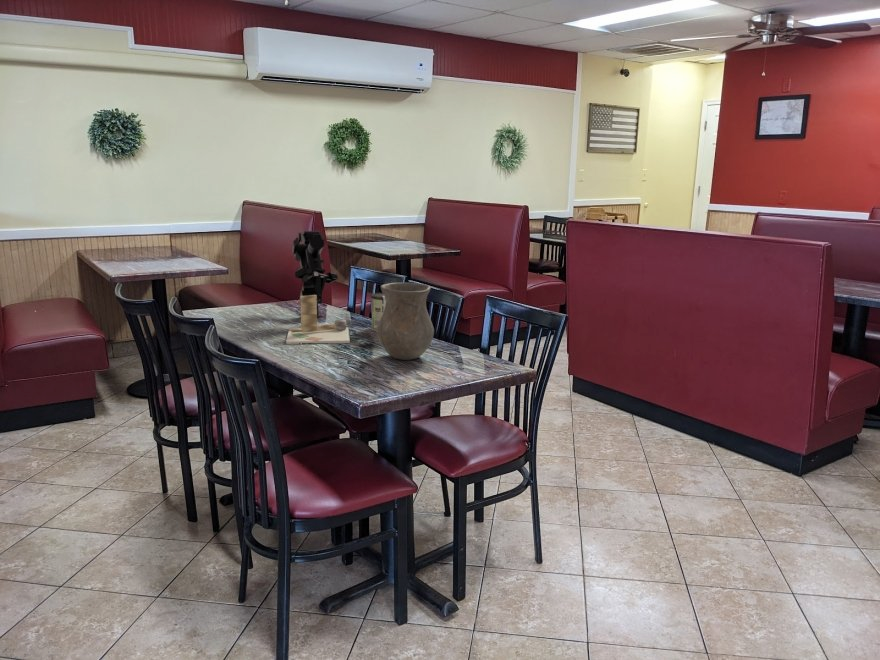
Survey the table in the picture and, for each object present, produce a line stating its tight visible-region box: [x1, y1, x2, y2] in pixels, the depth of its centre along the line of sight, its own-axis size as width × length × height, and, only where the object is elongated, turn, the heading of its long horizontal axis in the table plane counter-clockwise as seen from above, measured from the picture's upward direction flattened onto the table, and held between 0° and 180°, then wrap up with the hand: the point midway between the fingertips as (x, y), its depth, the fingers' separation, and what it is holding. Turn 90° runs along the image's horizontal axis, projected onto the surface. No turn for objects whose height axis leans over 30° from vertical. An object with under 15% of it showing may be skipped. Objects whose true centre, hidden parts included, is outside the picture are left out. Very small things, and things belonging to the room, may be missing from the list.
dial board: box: [285, 326, 351, 345], centre depth 265 cm, size 23×22×1 cm
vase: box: [376, 281, 435, 361], centre depth 236 cm, size 20×19×25 cm
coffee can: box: [370, 292, 384, 332], centre depth 278 cm, size 10×10×14 cm
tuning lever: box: [291, 295, 347, 333], centre depth 267 cm, size 22×4×14 cm, turn 121°
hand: (319, 295), depth 280 cm, fingers closed
